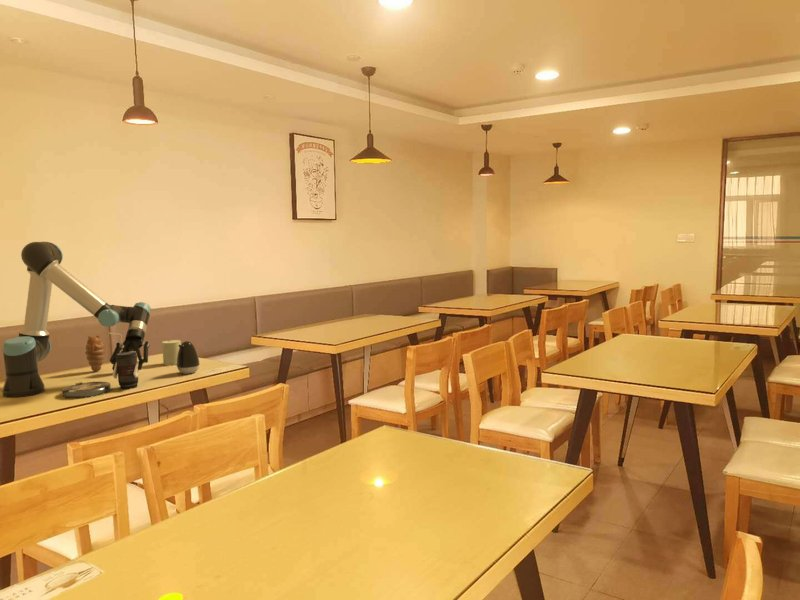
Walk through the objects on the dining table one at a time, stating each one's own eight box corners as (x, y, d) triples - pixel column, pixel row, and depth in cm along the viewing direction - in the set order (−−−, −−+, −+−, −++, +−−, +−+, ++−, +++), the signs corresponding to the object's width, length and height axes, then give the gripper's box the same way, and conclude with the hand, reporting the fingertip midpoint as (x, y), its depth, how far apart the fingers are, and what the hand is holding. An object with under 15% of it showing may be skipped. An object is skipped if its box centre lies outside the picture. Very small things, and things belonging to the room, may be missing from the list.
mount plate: (58, 400, 238) (57, 393, 237) (67, 390, 255) (66, 383, 254) (107, 395, 243) (106, 388, 243) (113, 385, 260) (112, 378, 260)
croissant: (92, 374, 285) (89, 337, 283) (83, 372, 289) (80, 336, 287) (109, 370, 292) (106, 334, 290) (100, 369, 296) (97, 333, 294)
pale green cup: (178, 360, 310) (177, 338, 308) (185, 363, 303) (183, 340, 301) (160, 363, 304) (159, 340, 303) (166, 366, 297) (165, 342, 296)
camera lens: (142, 384, 259) (140, 351, 258) (132, 389, 251) (129, 355, 250) (125, 385, 260) (122, 351, 259) (114, 389, 252) (111, 355, 251)
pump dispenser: (172, 374, 277) (169, 342, 275) (186, 370, 287) (184, 339, 285) (190, 375, 274) (187, 343, 272) (204, 370, 284) (202, 339, 282)
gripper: (162, 336, 270) (152, 379, 255) (115, 338, 268) (102, 382, 254) (157, 327, 264) (147, 370, 250) (109, 329, 263) (96, 372, 248)
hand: (124, 376), depth 252 cm, fingers closed on camera lens, 8 cm apart
